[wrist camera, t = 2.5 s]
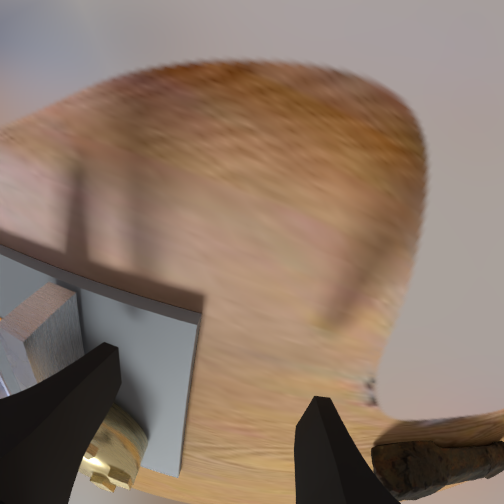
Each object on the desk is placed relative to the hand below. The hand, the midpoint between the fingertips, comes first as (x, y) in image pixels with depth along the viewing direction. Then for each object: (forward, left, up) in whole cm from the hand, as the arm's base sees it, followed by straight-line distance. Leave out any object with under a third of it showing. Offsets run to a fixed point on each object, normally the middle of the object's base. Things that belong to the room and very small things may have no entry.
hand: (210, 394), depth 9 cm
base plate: (-9, -6, -3) cm, 12 cm away
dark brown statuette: (+20, -9, -3) cm, 22 cm away
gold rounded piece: (-7, -5, -1) cm, 9 cm away
